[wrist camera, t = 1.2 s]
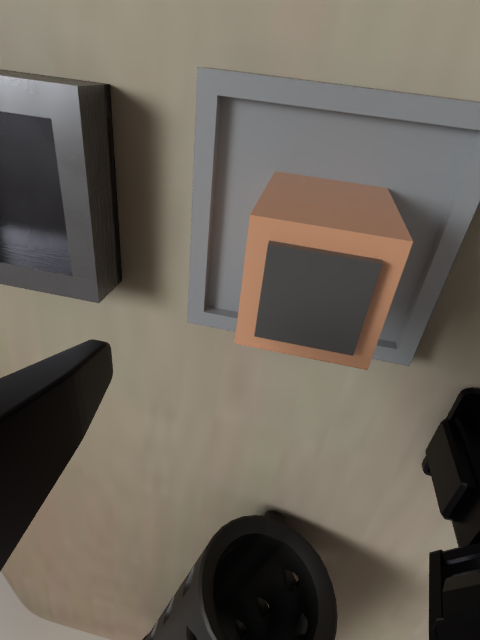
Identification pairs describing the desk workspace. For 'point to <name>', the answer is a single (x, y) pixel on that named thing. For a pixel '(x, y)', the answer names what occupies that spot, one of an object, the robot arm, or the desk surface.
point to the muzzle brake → (253, 588)
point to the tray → (336, 164)
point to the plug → (320, 268)
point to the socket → (58, 187)
